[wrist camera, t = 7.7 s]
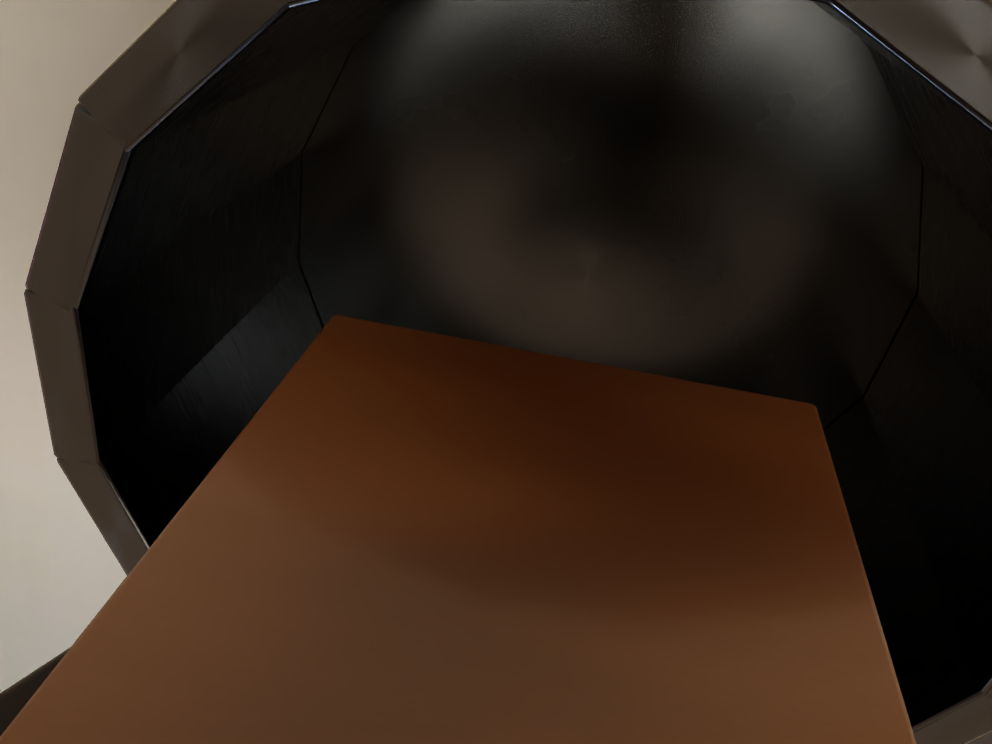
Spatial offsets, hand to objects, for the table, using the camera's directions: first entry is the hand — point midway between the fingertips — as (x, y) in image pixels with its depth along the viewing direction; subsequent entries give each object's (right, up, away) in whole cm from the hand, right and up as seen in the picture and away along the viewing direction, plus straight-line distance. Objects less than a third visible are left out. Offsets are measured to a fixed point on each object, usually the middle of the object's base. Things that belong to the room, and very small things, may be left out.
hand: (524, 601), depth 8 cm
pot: (+2, +5, +8) cm, 9 cm away
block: (0, +1, +1) cm, 1 cm away
